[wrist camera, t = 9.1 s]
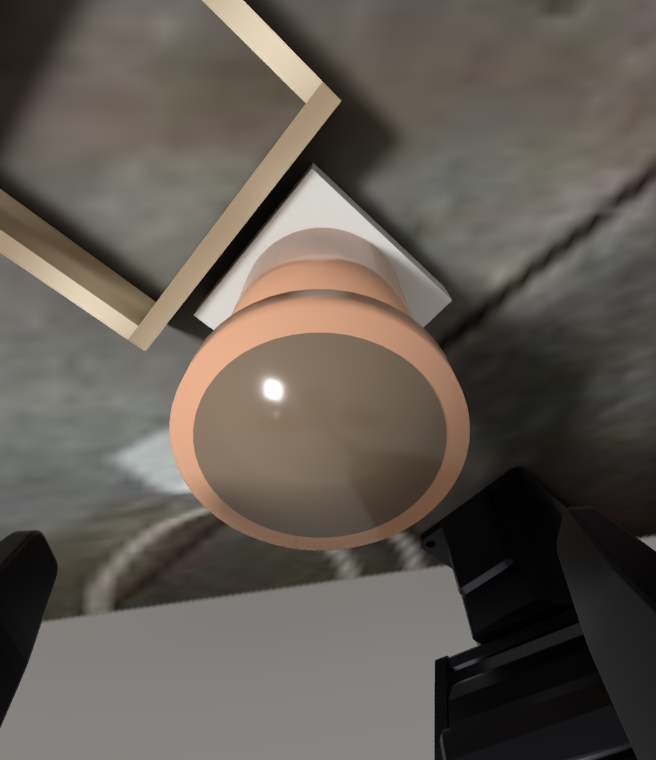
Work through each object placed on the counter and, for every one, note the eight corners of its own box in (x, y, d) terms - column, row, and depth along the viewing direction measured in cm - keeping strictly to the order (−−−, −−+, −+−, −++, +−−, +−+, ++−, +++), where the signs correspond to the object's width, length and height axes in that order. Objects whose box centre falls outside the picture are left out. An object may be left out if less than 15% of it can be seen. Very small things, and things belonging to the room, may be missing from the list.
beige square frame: (339, 100, 16) (341, 101, 14) (162, 326, 20) (145, 351, 18) (29, -220, 12) (-26, -276, 10) (-111, 131, 16) (-170, 136, 14)
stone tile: (443, 286, 19) (452, 300, 18) (329, 395, 21) (329, 415, 20) (313, 162, 17) (311, 168, 15) (202, 300, 19) (193, 315, 18)
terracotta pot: (450, 301, 18) (533, 438, 11) (329, 414, 20) (331, 587, 13) (312, 170, 15) (302, 235, 8) (195, 314, 18) (111, 458, 11)
